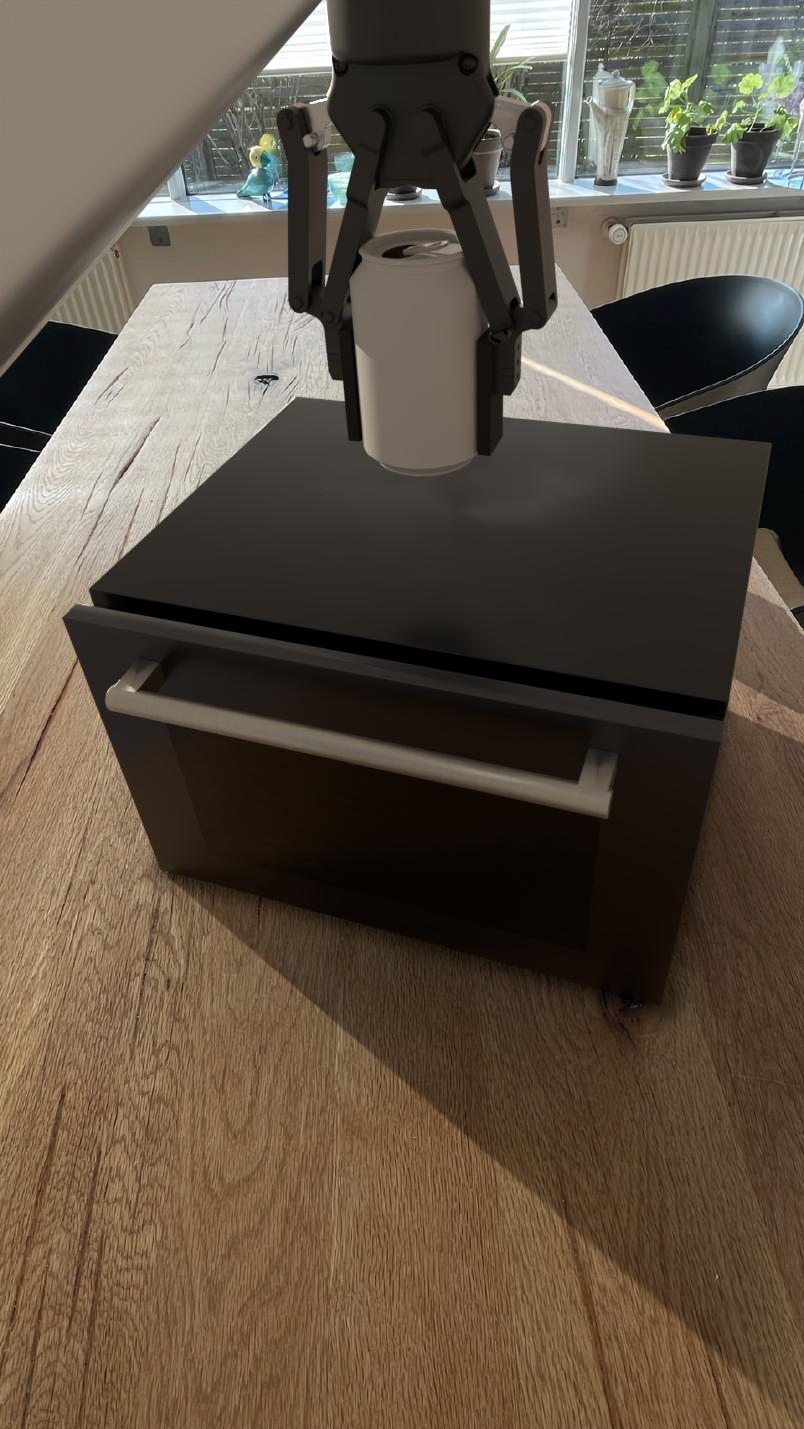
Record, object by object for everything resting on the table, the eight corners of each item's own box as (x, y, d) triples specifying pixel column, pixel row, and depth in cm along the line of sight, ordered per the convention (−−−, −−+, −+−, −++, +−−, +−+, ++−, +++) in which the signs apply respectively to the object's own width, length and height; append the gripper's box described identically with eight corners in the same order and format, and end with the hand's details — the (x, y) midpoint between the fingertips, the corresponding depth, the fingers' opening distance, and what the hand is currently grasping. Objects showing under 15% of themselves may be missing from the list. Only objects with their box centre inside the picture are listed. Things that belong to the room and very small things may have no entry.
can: (403, 420, 61) (392, 216, 54) (508, 440, 58) (513, 227, 51) (340, 468, 57) (318, 253, 49) (451, 493, 54) (447, 267, 46)
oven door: (652, 1056, 63) (713, 795, 45) (135, 907, 74) (24, 654, 57) (665, 986, 66) (725, 720, 49) (169, 855, 78) (75, 602, 61)
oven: (665, 985, 67) (729, 701, 50) (171, 854, 78) (87, 589, 61) (715, 703, 89) (771, 442, 72) (326, 634, 101) (295, 396, 84)
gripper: (652, -69, 42) (606, 429, 56) (241, -46, 48) (298, 398, 62) (620, -59, 36) (579, 487, 51) (163, -35, 42) (245, 447, 57)
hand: (425, 438), depth 57 cm, fingers closed on can, 7 cm apart
